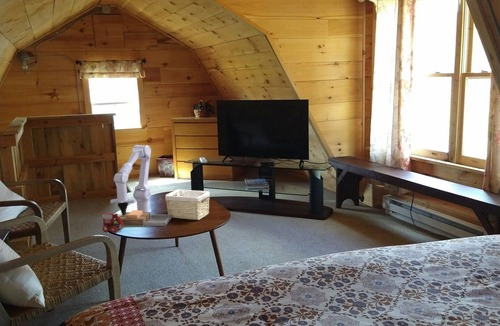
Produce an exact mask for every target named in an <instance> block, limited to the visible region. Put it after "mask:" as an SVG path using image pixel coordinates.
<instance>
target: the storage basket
mask: <svg viewBox="0 0 500 326" xmlns="http://www.w3.org/2000/svg"><path fill="white" fill-rule="evenodd" d="M210 195H211V194H210V191H208V190H206V191H204V190H191V189H179V188H178V189H176V190H174V191H171V192H169V193H166V194H165V199H164V200H165V202H166V208H167V214H172V219H173V218H175V219H183V220H195V221H197V220H198V221H199V220H201V219H202V218H204V217H206V216H207V215H208V214H209V213H210V211H209V210H210Z"/></svg>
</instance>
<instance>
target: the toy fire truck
mask: <svg viewBox="0 0 500 326" xmlns="http://www.w3.org/2000/svg"><path fill="white" fill-rule="evenodd" d="M101 218H102V222H103V223H102V224H103V226H102V232H103V233H108V232H111V233H112V234H115V233H116V234H117V232H118V231H120V230H123V229H124V226H123V222H122V220H121V218H120V216H119V215H118V213H109V212H103V213H102V214H101Z"/></svg>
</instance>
